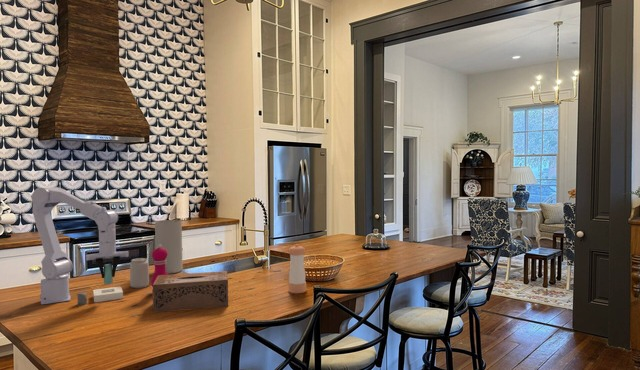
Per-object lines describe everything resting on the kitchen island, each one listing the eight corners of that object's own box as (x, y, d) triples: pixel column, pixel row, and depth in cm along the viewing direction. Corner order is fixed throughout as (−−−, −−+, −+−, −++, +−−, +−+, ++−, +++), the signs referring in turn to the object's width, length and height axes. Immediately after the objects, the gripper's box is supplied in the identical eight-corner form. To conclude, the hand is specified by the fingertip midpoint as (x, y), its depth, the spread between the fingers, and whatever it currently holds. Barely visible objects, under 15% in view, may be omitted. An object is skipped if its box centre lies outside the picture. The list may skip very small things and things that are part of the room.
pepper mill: (163, 296, 170) (162, 246, 169) (147, 295, 171) (146, 245, 171) (173, 291, 177) (172, 243, 176) (157, 290, 178) (156, 242, 178)
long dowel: (104, 284, 161) (103, 266, 161) (103, 282, 164) (103, 264, 164) (112, 283, 163) (112, 265, 163) (112, 281, 165) (112, 263, 165)
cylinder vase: (155, 270, 216) (154, 221, 215) (180, 267, 221) (179, 219, 221) (157, 275, 205) (155, 223, 204) (184, 272, 210) (183, 222, 209)
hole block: (94, 302, 162) (94, 295, 162) (93, 296, 171) (93, 289, 171) (123, 298, 167) (122, 292, 167) (120, 292, 176) (120, 286, 176)
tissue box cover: (153, 313, 150) (152, 284, 149) (158, 301, 164) (158, 275, 163) (228, 306, 156) (227, 279, 156) (227, 295, 170) (226, 271, 170)
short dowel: (77, 305, 158) (77, 295, 158) (77, 303, 161) (77, 293, 161) (86, 304, 160) (86, 294, 159) (86, 302, 162) (86, 292, 162)
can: (126, 287, 183) (125, 259, 183) (141, 283, 190) (140, 256, 190) (138, 289, 180) (137, 261, 180) (152, 285, 186) (152, 258, 186)
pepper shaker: (304, 293, 170) (303, 246, 170) (286, 292, 172) (285, 245, 171) (308, 288, 178) (307, 243, 177) (291, 288, 179) (290, 242, 179)
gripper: (85, 244, 156) (86, 281, 156) (129, 241, 163) (129, 276, 163) (85, 242, 162) (86, 277, 163) (127, 239, 169) (128, 273, 170)
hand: (108, 277), depth 163 cm, fingers closed on long dowel, 3 cm apart
